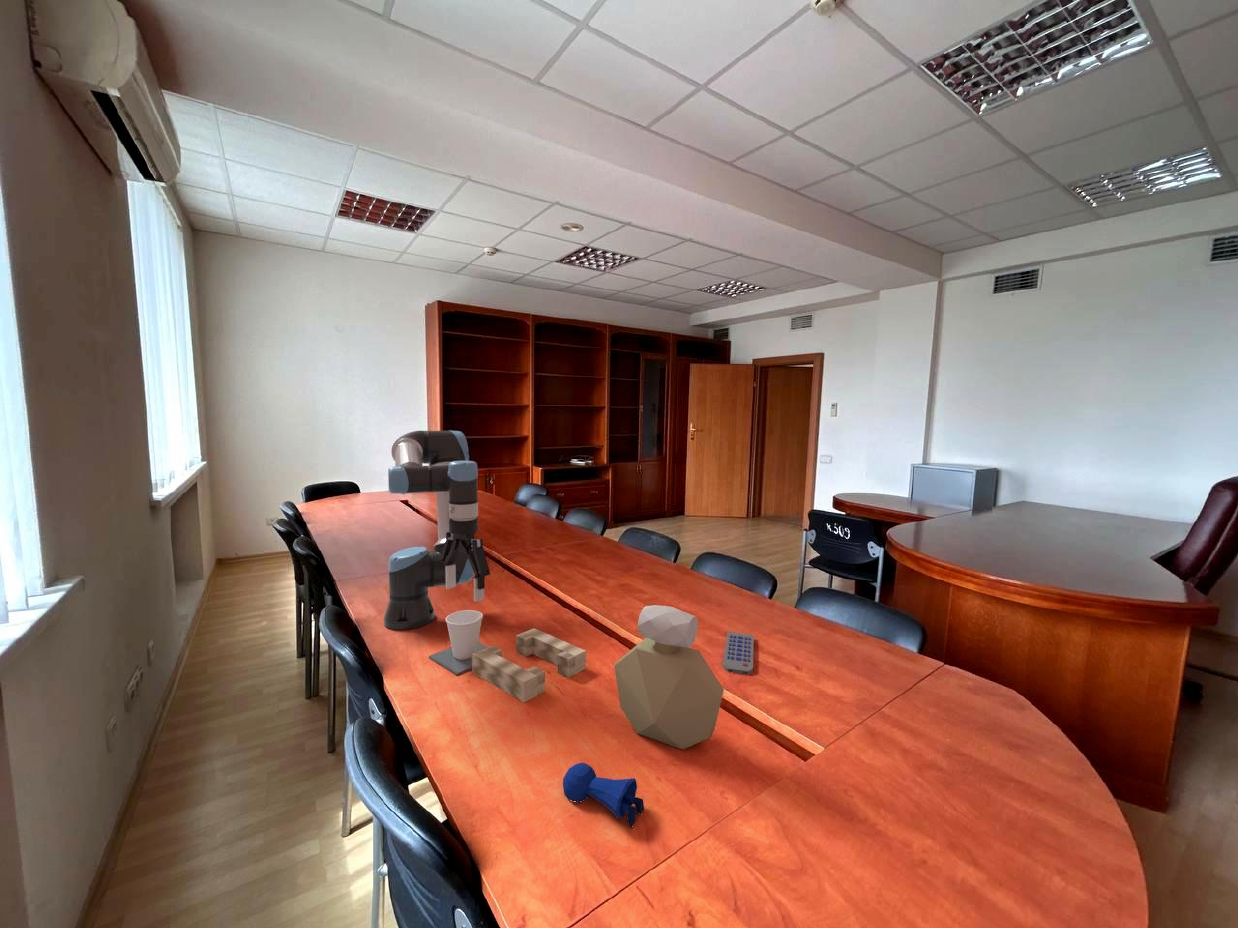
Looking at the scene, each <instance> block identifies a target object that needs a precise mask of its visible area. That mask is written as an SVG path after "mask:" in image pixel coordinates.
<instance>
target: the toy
mask: <svg viewBox="0 0 1238 928" xmlns="http://www.w3.org/2000/svg"><path fill="white" fill-rule="evenodd" d="M637 784H638V783H637V780H636V778H635V777H634V778H633V777H632V778H621V779H619V778H617V779H614V778H613V779H612V778H607V777H600V776H599V777H598V776H597V774H596V772H595V769H594V768H593V767H592V766H591V765H590V764H588V763H586V762H579V763H575V764H573V765H572V766H571V767H569V768H568V769H567V771H566V773H565V774H564V776H563V779H562V787H563V794H564V796H565V797H567V798H568V799H567V798H566V799H567V800H569V799H570V800H572V801H576V802H580V801H582V802H584V801H583V800H585V799H586V798H587V797H588V798H589V797H592V799H595V800H596V801H598V802H599V803H601V804H602V805H604V806H605V807H606V808H608V810H609V811H611V813H613V815H614V816H615V817H616V818H618V819H621V818H624V817H625V814H627V824H628V826H630V827H629V828H631V827H632V826H633V827H634V825H635V824H636V819H637V813H638V814H639V813H640V814H639V815H642V814H643V812H644V811H643V810H645V805H644V799H643V798H641V797H636V795H637V789H638V785H637ZM588 798H587V799H588ZM587 799H586V800H587ZM570 800H569V801H570ZM586 800H585V801H586ZM572 801H571V802H572ZM580 803H581V802H580ZM633 805H634V806H635V807H634V806H633ZM642 811H643V812H642ZM641 813H642V814H641ZM634 823H635V824H634ZM633 824H634V825H633ZM633 827H632V828H633Z"/></svg>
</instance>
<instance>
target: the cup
mask: <svg viewBox="0 0 1238 928" xmlns="http://www.w3.org/2000/svg"><path fill="white" fill-rule="evenodd" d="M483 618H484V614H483V613H482V612H481V611H479V610H473V609H468V610H467V609H465V610H463V609H462V610H458V611H455V612H452V613H450V614H448V615H447V616H446V617H445V622H446V625H447V630H448V635H449V640H450V645H451V647H452V651H453V656H454V657H455V658H456V659H459V660H466V659H470V658H472V654H473V653H475V652H477V646H478V642H479V641H480V640H479V639H480V633H481V626H482V620H483Z"/></svg>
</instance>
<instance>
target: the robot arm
mask: <svg viewBox="0 0 1238 928" xmlns="http://www.w3.org/2000/svg"><path fill="white" fill-rule="evenodd" d="M392 444H393V445H392V446H391V457H392V460H393V461H394V462H395V466H390V467H389V468H388V469H387V470H388V471H387V480H388V492H389V493H390V494H395V495H397V494H398V495H399V494H401V495H407V494H422V493H424V494H425V493H435V499H436V500H435V501H436V517H437V518H436V519H437V522H436V523H437V539H438V540H437V541H436V543H435V544H433V550H430V551H429V550H428V548H427V547H425V546H414V547H413V546H412V547H407V548H404V549H400V550H397V551H395V552H394V553H392V554H391V555H390V557H389V559H388V568H387V572H388V585H389V588H388V591H389V593H388V594H389V597H388V598H389V601H388V603H387V607H386V610H385V612H384V616H383V625H384V627H385V628H388V629H391V630H399V631H400V630H401V631H404V630H411V629H416V628H420V627H424V626H426V625H428V624H429V623H431V622H432V621H434V619H435V609H434V606H433V604H432V601H431V599H430V596H429V588H434V587H443V586H444V587H445V589H446V590H450V589H453V588H456V586H457V585H460V584H466V583H470V582H471V581H472V579H473V602H475V603H476V602H479V601H482V600H485V581H486V580H485V578H486V577H487V576H490V575H491V571H490V566H489V564H488V561H487V557H486V554H485V553H486V552H485V549H484V545H483V542H484V541H483V539H482V538H477V539H476V537H475V536H476V535H475V534H476V533H478V531H479V519H478V518H477V517H478V516H479V500H478V497H479V496H478V495H479V494H478V492H479V491H478V489H479V487H478V485H479V483H478V482H479V481H478V480H479V478H478V477H479V470H478V463H477V462H476V461H473V460H470V455H469V446H468V441H467V438H466V435H465V434H464V433H463V432H462V431H460V430H459V431H458V430H451V429H449V430H414V431H410V432H407V433H405V434H403V435H401V436H399V437H398V438H397V439H396V440H395V441H394V443H392ZM424 464H425V465H424ZM426 464H427V465H426ZM428 464H429V465H428Z"/></svg>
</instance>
